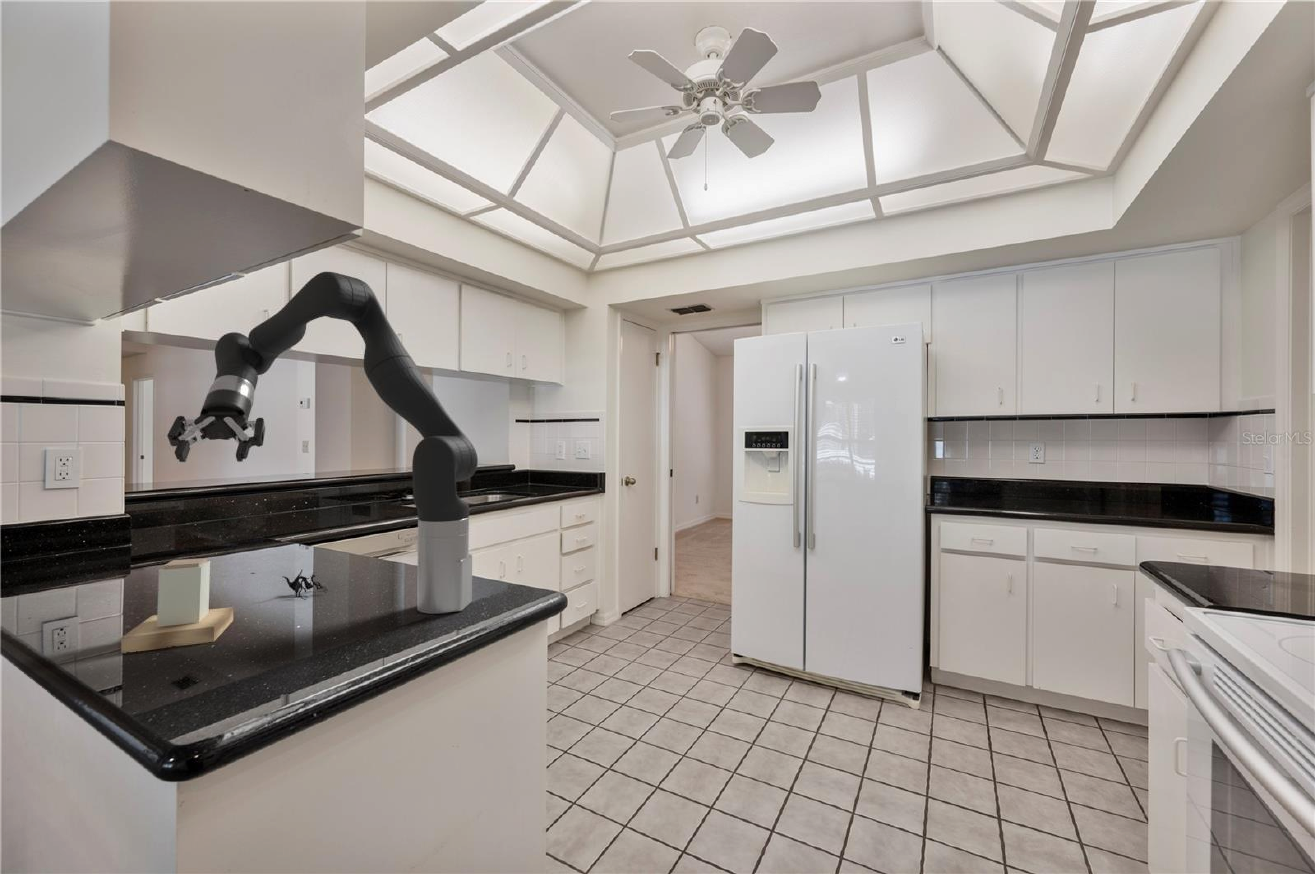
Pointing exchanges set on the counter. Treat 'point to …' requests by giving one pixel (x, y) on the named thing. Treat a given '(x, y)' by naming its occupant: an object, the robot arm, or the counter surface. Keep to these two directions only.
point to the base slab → (177, 632)
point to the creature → (297, 585)
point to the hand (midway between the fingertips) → (210, 459)
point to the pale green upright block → (183, 592)
